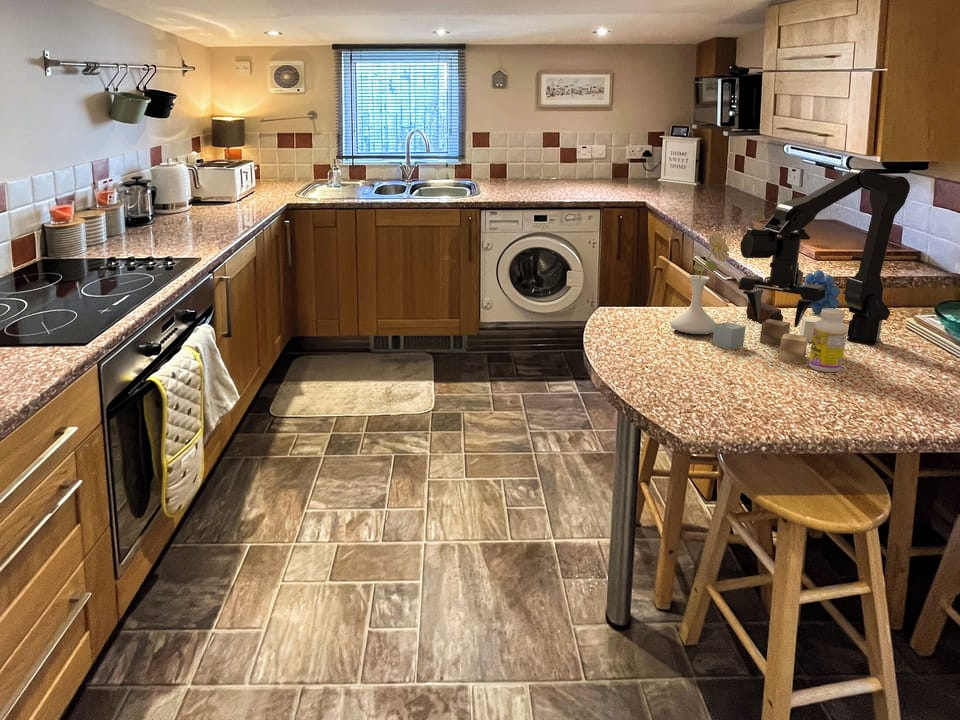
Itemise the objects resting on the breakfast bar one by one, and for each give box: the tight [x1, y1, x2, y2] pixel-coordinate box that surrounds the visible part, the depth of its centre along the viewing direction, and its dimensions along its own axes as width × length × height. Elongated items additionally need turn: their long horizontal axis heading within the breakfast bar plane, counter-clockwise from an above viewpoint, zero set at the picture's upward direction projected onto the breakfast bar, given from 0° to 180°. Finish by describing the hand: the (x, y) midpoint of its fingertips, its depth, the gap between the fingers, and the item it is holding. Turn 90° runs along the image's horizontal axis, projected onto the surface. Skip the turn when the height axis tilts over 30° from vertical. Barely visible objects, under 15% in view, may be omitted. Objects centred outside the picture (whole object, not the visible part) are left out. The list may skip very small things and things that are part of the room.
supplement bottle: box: [808, 308, 848, 373], centre depth 188 cm, size 7×7×13 cm
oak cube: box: [778, 333, 808, 364], centre depth 196 cm, size 5×5×5 cm
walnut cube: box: [759, 319, 791, 347], centre depth 209 cm, size 5×5×5 cm
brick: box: [746, 301, 784, 325], centre depth 229 cm, size 11×4×5 cm, turn 18°
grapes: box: [800, 269, 841, 315], centre depth 239 cm, size 12×7×12 cm, turn 38°
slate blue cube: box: [711, 321, 746, 351], centre depth 205 cm, size 5×5×5 cm
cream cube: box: [799, 316, 822, 343], centre depth 213 cm, size 5×5×5 cm
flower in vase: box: [669, 229, 730, 335], centre depth 213 cm, size 13×11×25 cm
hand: (776, 323), depth 208 cm, fingers open, 9 cm apart
